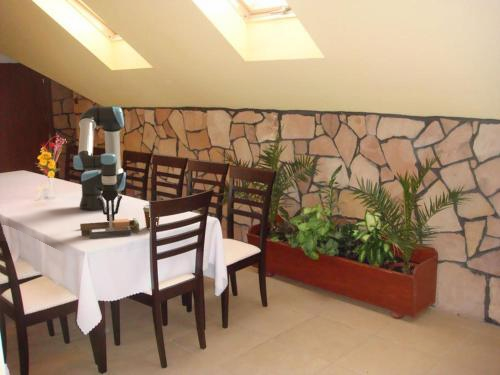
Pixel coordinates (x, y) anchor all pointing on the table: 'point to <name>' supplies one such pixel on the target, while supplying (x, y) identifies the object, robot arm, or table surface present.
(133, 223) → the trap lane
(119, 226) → the terracotta block
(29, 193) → the table surface
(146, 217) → the disposable coffee cup
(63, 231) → the table surface
